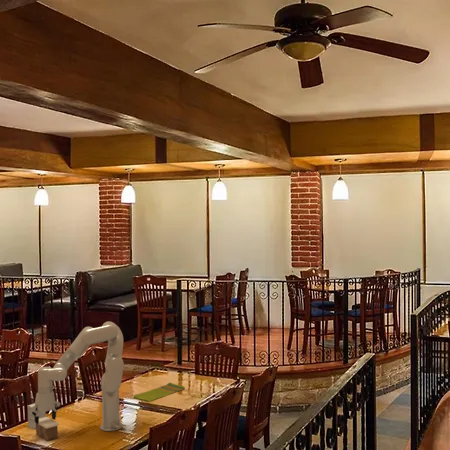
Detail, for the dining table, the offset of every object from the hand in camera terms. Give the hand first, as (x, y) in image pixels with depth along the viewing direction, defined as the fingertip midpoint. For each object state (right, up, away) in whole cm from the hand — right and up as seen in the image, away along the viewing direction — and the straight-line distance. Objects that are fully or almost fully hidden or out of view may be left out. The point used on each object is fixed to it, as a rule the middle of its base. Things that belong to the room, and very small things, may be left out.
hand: (45, 421), depth 309 cm
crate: (+1, -8, 0) cm, 8 cm away
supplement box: (-10, -9, +17) cm, 21 cm away
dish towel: (+54, -8, +75) cm, 93 cm away
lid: (+1, -1, 0) cm, 2 cm away
